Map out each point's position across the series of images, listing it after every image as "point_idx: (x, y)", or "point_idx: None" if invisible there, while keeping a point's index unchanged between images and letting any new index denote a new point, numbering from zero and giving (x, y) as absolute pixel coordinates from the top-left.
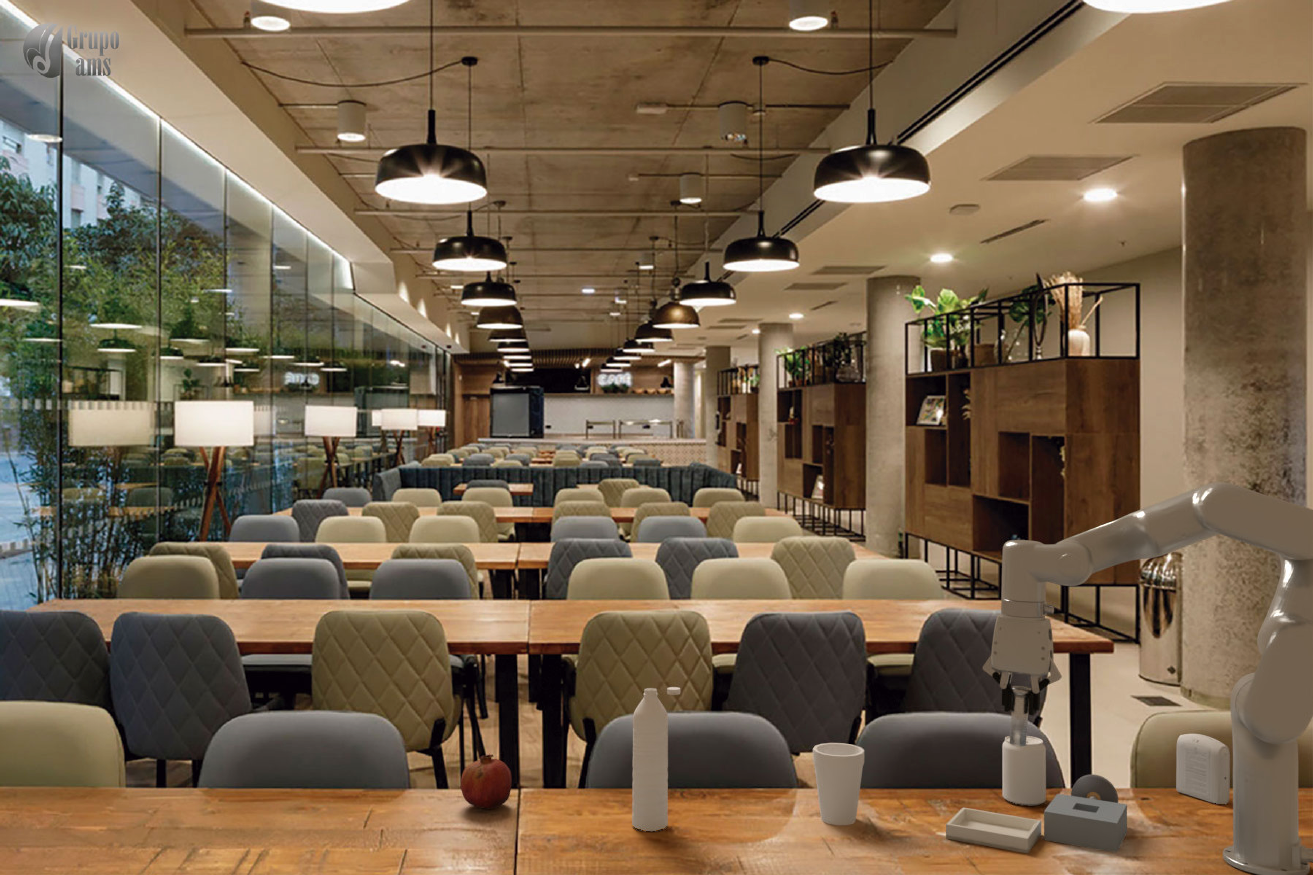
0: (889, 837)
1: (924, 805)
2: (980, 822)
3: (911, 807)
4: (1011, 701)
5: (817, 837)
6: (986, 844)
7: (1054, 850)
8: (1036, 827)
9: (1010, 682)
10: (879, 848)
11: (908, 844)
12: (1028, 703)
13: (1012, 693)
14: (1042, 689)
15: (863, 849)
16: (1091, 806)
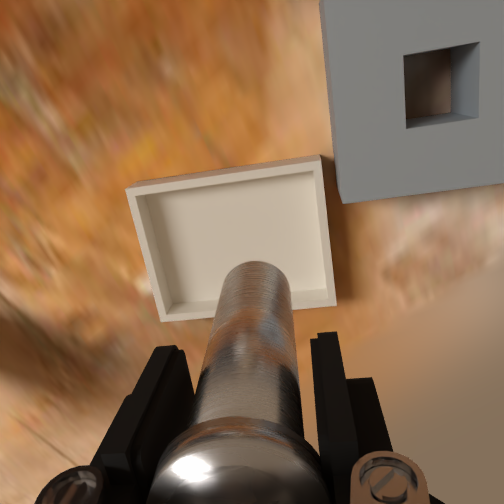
0: (92, 360)
1: (11, 130)
2: (181, 190)
3: (2, 166)
4: (178, 411)
5: (12, 424)
6: None
7: (377, 239)
8: (326, 214)
9: (99, 501)
10: (113, 414)
11: (137, 372)
12: (302, 423)
13: (156, 429)
14: (429, 495)
15: (98, 430)
16: (451, 46)
